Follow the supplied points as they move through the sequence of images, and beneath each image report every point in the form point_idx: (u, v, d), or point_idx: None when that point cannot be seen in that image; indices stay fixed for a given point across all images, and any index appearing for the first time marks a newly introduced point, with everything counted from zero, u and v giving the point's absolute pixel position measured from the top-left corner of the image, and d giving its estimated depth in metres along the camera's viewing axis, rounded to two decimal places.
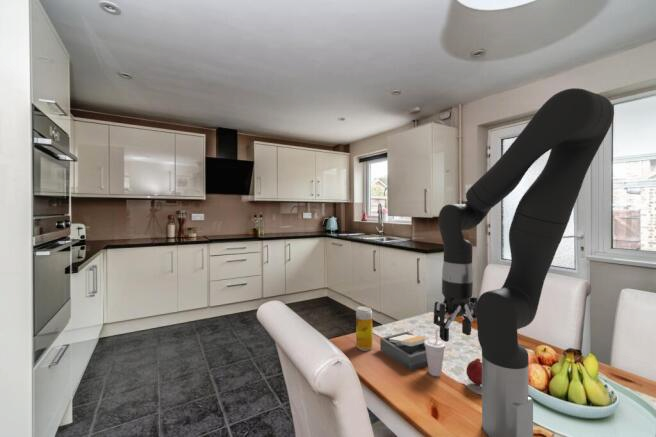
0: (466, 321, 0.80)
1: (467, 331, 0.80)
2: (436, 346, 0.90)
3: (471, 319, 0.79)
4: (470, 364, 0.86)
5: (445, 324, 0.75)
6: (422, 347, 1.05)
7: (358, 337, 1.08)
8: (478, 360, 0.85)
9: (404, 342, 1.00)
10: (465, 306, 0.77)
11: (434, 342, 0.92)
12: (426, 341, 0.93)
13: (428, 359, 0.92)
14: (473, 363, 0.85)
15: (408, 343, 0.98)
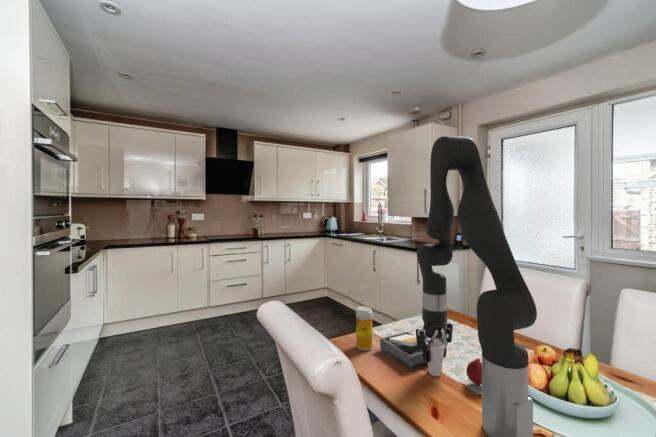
0: None
1: None
2: (436, 346, 0.90)
3: (446, 343, 0.93)
4: (470, 364, 0.86)
5: (426, 348, 0.89)
6: None
7: (358, 337, 1.08)
8: (478, 360, 0.85)
9: (404, 342, 1.00)
10: (441, 330, 0.91)
11: (434, 342, 0.92)
12: None
13: None
14: (473, 363, 0.85)
15: (408, 343, 0.98)
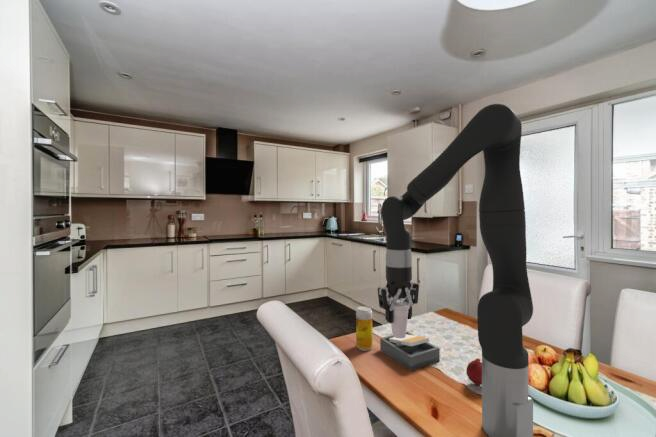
0: None
1: (408, 315, 0.87)
2: (399, 306, 0.84)
3: (411, 304, 0.86)
4: (470, 364, 0.86)
5: (389, 307, 0.83)
6: (422, 347, 1.05)
7: (358, 337, 1.08)
8: (478, 360, 0.85)
9: (404, 342, 1.00)
10: (406, 289, 0.85)
11: (398, 302, 0.86)
12: (390, 302, 0.87)
13: None
14: (473, 363, 0.85)
15: (408, 343, 0.98)
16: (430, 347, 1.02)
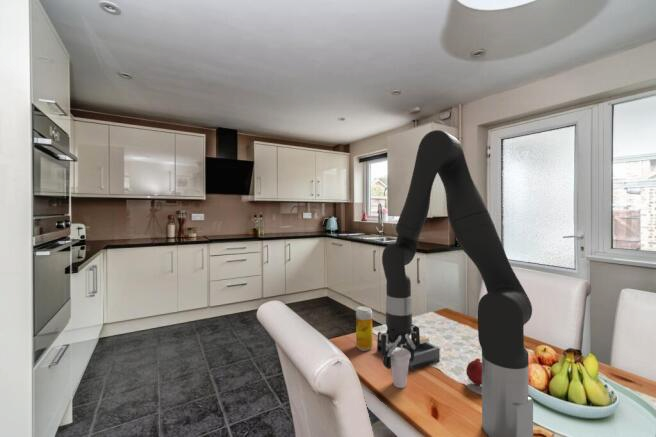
0: (409, 349, 0.88)
1: (410, 358, 0.88)
2: (400, 356, 0.84)
3: (413, 347, 0.87)
4: (470, 364, 0.86)
5: (387, 353, 0.83)
6: (422, 347, 1.05)
7: (358, 337, 1.08)
8: (478, 360, 0.85)
9: None
10: (406, 335, 0.85)
11: (399, 351, 0.86)
12: None
13: (392, 369, 0.86)
14: (473, 363, 0.85)
15: None
16: (430, 347, 1.02)
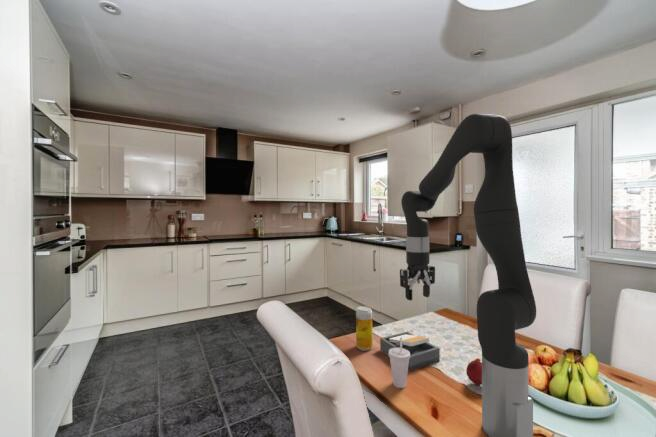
0: (425, 286, 1.00)
1: (426, 294, 1.00)
2: (400, 356, 0.84)
3: (429, 284, 0.99)
4: (470, 364, 0.86)
5: (409, 286, 0.96)
6: (422, 347, 1.05)
7: (358, 337, 1.08)
8: (478, 360, 0.85)
9: (404, 342, 1.00)
10: (424, 271, 0.97)
11: (398, 351, 0.86)
12: (390, 350, 0.88)
13: (392, 370, 0.86)
14: (473, 363, 0.85)
15: (408, 343, 0.98)
16: (430, 347, 1.02)
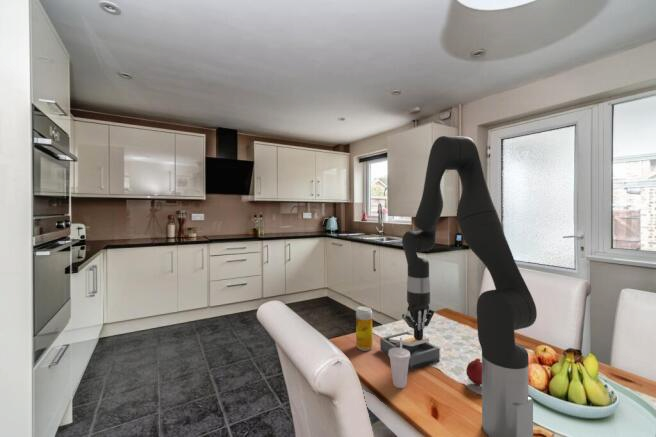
0: None
1: None
2: (400, 356, 0.84)
3: (422, 327, 0.98)
4: (470, 364, 0.86)
5: (417, 328, 0.98)
6: (422, 347, 1.05)
7: (358, 337, 1.08)
8: (478, 360, 0.85)
9: (404, 342, 1.00)
10: (425, 311, 0.98)
11: (398, 351, 0.86)
12: (390, 350, 0.88)
13: (392, 370, 0.86)
14: (473, 363, 0.85)
15: (408, 343, 0.98)
16: (430, 347, 1.02)
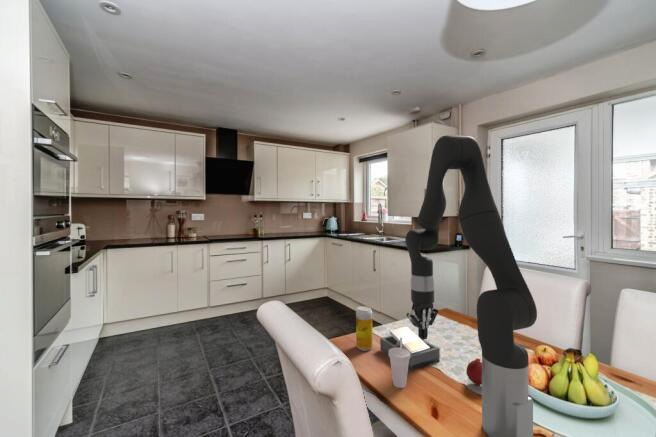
0: None
1: None
2: (400, 356, 0.84)
3: (427, 326, 0.98)
4: (470, 364, 0.86)
5: (421, 327, 0.97)
6: None
7: (358, 337, 1.08)
8: (478, 360, 0.85)
9: (405, 347, 0.99)
10: (429, 309, 0.98)
11: (399, 351, 0.86)
12: (390, 350, 0.88)
13: (392, 370, 0.86)
14: (473, 363, 0.85)
15: (409, 351, 0.98)
16: (430, 347, 1.02)
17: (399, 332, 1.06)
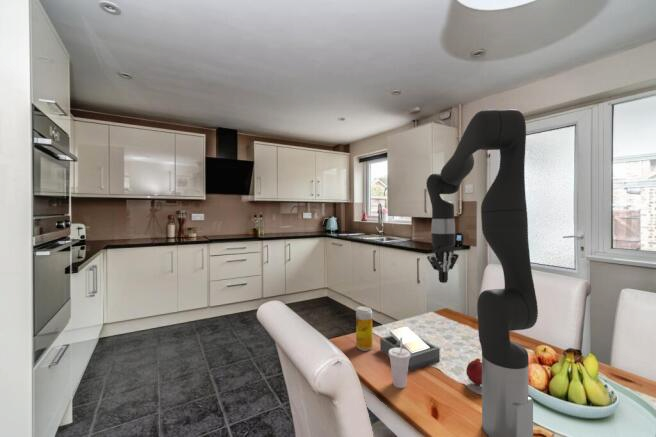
0: None
1: None
2: (400, 356, 0.84)
3: (447, 269, 0.99)
4: (470, 364, 0.86)
5: (442, 270, 0.98)
6: None
7: (358, 337, 1.08)
8: (478, 360, 0.85)
9: (405, 347, 0.99)
10: (450, 253, 0.98)
11: (399, 351, 0.86)
12: (391, 350, 0.88)
13: (392, 370, 0.86)
14: (473, 363, 0.85)
15: (409, 351, 0.98)
16: (430, 347, 1.02)
17: (399, 332, 1.06)
